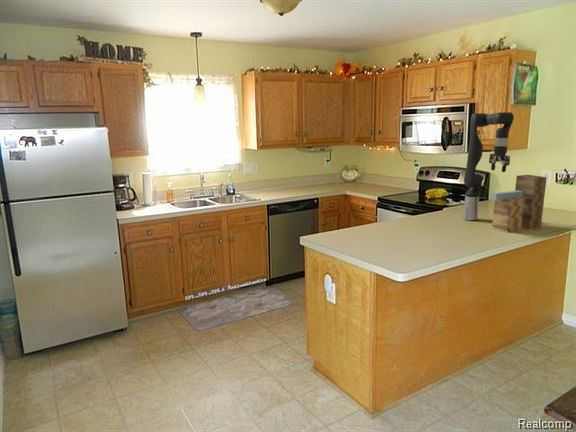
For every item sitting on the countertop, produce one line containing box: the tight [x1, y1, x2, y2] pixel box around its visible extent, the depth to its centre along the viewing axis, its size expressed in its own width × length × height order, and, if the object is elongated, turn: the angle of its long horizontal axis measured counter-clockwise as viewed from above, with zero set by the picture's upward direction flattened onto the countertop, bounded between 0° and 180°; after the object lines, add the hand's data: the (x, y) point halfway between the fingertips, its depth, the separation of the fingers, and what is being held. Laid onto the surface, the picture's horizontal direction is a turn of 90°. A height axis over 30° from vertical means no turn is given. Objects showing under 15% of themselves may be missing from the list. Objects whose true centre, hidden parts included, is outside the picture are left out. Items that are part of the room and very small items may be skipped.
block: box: [491, 198, 524, 232], centre depth 275 cm, size 12×12×21 cm
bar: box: [491, 190, 523, 201], centre depth 271 cm, size 22×4×4 cm, turn 109°
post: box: [514, 174, 547, 230], centre depth 279 cm, size 10×14×34 cm
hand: (498, 171), depth 265 cm, fingers open, 8 cm apart
